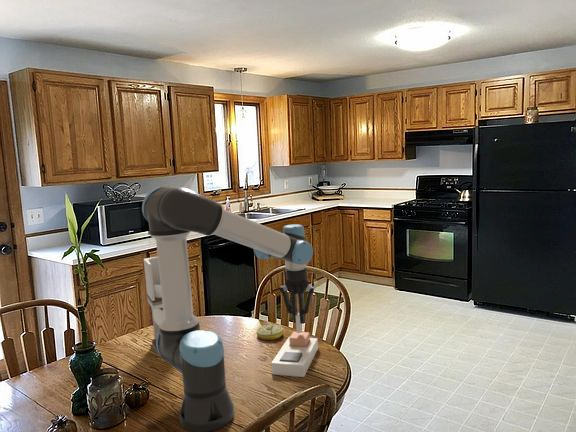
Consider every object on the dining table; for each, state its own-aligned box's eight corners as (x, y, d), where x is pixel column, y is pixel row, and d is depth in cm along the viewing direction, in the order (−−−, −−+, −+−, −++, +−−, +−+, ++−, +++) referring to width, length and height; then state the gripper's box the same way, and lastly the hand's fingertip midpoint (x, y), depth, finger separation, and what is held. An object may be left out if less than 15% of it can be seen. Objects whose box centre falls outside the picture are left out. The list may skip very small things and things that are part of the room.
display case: (152, 344, 182) (143, 258, 177) (178, 338, 186) (171, 254, 182) (157, 354, 171) (148, 264, 167) (185, 348, 176) (177, 259, 171)
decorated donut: (267, 329, 191) (267, 320, 191) (288, 334, 185) (288, 325, 185) (251, 338, 183) (251, 329, 182) (273, 343, 177) (272, 334, 176)
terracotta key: (306, 346, 162) (305, 338, 162) (289, 345, 164) (289, 337, 163) (309, 340, 168) (309, 332, 167) (294, 339, 169) (293, 331, 169)
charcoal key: (297, 369, 151) (297, 360, 150) (280, 367, 152) (280, 359, 152) (302, 361, 157) (301, 352, 156) (285, 359, 158) (285, 351, 158)
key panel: (304, 377, 148) (303, 365, 148) (271, 374, 151) (271, 362, 151) (318, 348, 169) (317, 338, 169) (289, 346, 172) (289, 336, 172)
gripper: (316, 265, 164) (319, 328, 167) (281, 265, 167) (285, 326, 170) (311, 271, 156) (314, 336, 160) (275, 270, 160) (279, 334, 163)
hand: (299, 331), depth 165 cm, fingers closed
